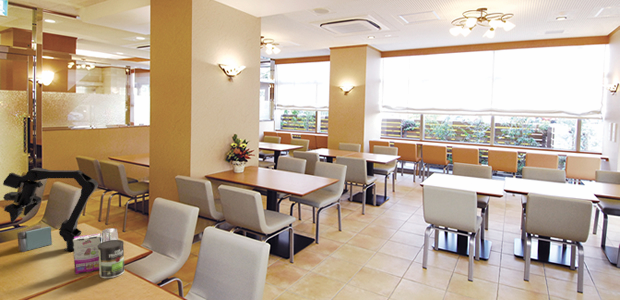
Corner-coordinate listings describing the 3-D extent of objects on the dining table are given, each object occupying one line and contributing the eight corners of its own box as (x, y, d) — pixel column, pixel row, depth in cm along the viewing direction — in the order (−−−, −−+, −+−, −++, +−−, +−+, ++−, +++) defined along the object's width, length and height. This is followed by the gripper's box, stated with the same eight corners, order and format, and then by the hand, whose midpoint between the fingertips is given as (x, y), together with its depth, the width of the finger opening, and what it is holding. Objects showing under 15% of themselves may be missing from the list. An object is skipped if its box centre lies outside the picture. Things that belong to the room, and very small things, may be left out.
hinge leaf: (52, 244, 191) (50, 227, 190) (22, 252, 181) (20, 234, 180) (50, 243, 193) (49, 226, 192) (20, 251, 182) (19, 233, 181)
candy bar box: (103, 265, 169) (101, 232, 167) (103, 269, 165) (101, 236, 163) (76, 270, 164) (73, 236, 162) (74, 274, 160) (72, 240, 158)
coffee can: (129, 271, 164) (128, 242, 162) (107, 280, 155) (105, 250, 153) (116, 266, 169) (115, 237, 167) (94, 274, 160) (92, 245, 158)
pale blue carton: (46, 242, 195) (45, 224, 193) (24, 252, 181) (22, 233, 180) (39, 242, 195) (38, 224, 194) (16, 252, 182) (15, 232, 181)
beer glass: (122, 258, 178) (120, 229, 176) (109, 263, 171) (107, 233, 170) (112, 255, 181) (111, 227, 179) (99, 260, 174) (98, 231, 172)
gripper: (24, 180, 185) (15, 206, 187) (-3, 191, 167) (-13, 220, 169) (46, 188, 187) (36, 214, 189) (21, 200, 169) (11, 228, 171)
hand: (18, 218), depth 180 cm, fingers open, 9 cm apart
